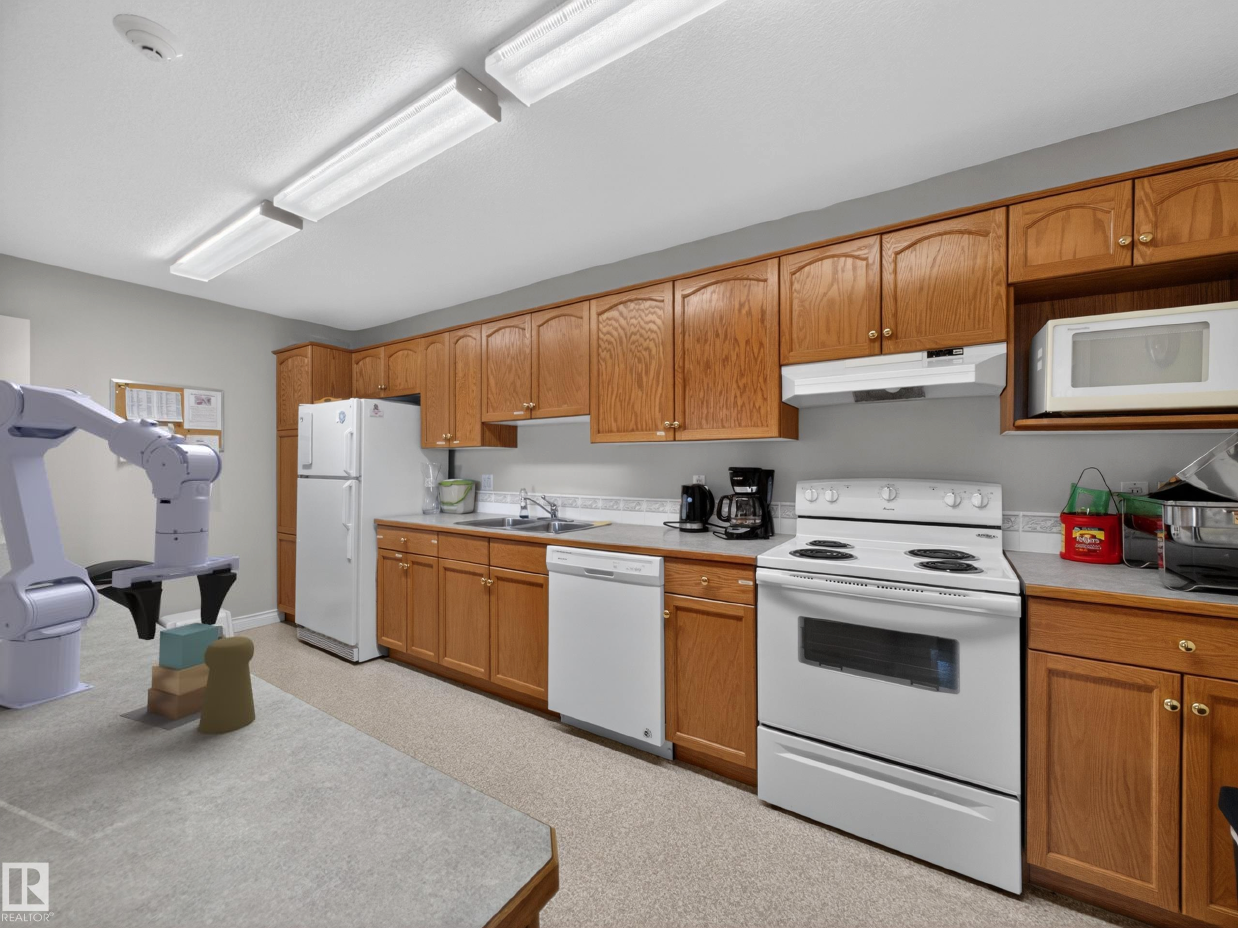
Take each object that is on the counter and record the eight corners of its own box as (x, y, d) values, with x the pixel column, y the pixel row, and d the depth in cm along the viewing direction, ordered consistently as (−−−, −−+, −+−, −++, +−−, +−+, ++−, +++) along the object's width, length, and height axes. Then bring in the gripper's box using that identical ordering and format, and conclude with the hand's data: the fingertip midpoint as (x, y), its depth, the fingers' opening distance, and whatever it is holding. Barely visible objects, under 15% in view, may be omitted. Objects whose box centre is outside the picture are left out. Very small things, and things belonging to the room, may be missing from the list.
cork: (225, 740, 65) (228, 648, 65) (184, 734, 67) (187, 644, 67) (267, 717, 71) (270, 634, 71) (229, 712, 72) (231, 630, 73)
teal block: (158, 665, 72) (160, 631, 72) (195, 654, 76) (196, 622, 76) (181, 670, 70) (182, 635, 70) (217, 659, 74) (218, 626, 75)
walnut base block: (147, 711, 71) (147, 688, 71) (196, 694, 77) (197, 673, 77) (176, 719, 69) (177, 696, 69) (225, 701, 75) (225, 679, 75)
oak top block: (151, 688, 72) (152, 665, 72) (196, 674, 77) (197, 652, 77) (178, 695, 70) (179, 671, 70) (222, 680, 75) (223, 658, 75)
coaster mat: (119, 718, 70) (119, 715, 70) (201, 689, 80) (201, 687, 80) (169, 732, 67) (169, 729, 67) (249, 701, 76) (249, 698, 76)
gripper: (138, 538, 66) (134, 650, 66) (254, 528, 80) (251, 621, 79) (103, 535, 69) (99, 642, 68) (222, 525, 82) (219, 615, 82)
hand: (178, 630), depth 74 cm, fingers open, 7 cm apart
